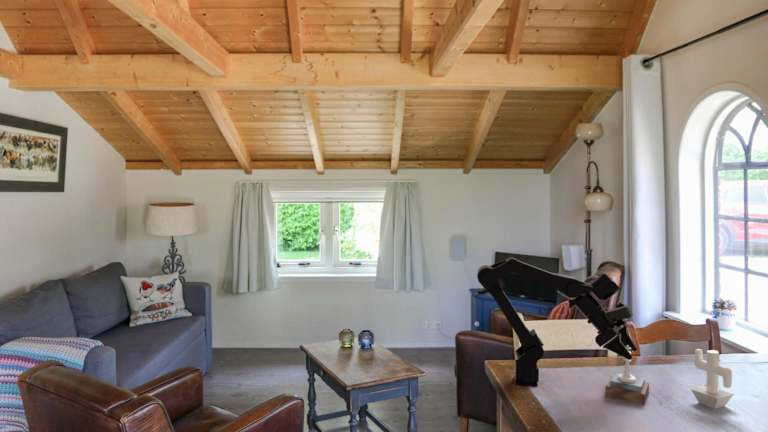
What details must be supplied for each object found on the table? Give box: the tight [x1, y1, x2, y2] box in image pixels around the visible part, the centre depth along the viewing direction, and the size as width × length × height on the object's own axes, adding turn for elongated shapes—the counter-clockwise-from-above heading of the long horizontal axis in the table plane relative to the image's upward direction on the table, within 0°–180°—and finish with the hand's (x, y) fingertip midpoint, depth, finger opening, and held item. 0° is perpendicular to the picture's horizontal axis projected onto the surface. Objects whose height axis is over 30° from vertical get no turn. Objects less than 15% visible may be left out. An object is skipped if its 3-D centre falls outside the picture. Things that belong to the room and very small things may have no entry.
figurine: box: [690, 348, 734, 410], centre depth 135 cm, size 7×9×15 cm
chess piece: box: [618, 345, 637, 383], centre depth 141 cm, size 5×5×10 cm
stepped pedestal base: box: [604, 372, 650, 406], centre depth 141 cm, size 10×10×4 cm
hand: (633, 354), depth 140 cm, fingers open, 9 cm apart
